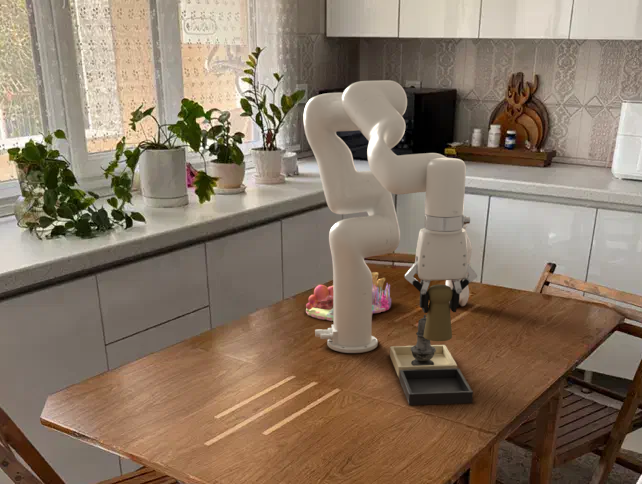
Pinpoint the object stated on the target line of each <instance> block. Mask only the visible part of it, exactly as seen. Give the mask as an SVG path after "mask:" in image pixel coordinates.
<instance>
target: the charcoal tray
mask: <svg viewBox="0 0 642 484" xmlns="http://www.w3.org/2000/svg"><path fill="white" fill-rule="evenodd" d="M398 378H399V379H398V380H399V383H400V386H401V389H402V391H403V393H404V395H405V398H406V401H407V403H408V406H419V405H420V406H421V405H423V406H424V405H451V404H452V405H453V404H455V405H456V404H472V403H473V399H474V391H473V390H472V387H471V386H470V384H469V383H468V381H467V380H466V378H465V376H464V375H463V372H462V371H461V369H460V368H459V367H457V368H448V369H415V370H400V374H399V377H398Z"/></svg>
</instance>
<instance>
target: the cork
mask: <svg viewBox="0 0 642 484" xmlns="http://www.w3.org/2000/svg"><path fill="white" fill-rule="evenodd" d="M427 293H428V295H429V304H428V312H427V313H426V323H425V329H424V334H423V337H424V338H425V339H427V340H430V342H446V341H447V342H448V341H450V340H452V338H453V330H452V317H451V309H450V303H449V302H450V301H451V299H452V296H453V292H452V289H451V288H450V287H449V286H447V285H445V284H433V285H431V286H429V287H428V289H427Z"/></svg>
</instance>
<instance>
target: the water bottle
mask: <svg viewBox="0 0 642 484" xmlns="http://www.w3.org/2000/svg"><path fill="white" fill-rule="evenodd" d="M467 227H468V224H464V226H463V229H465V232H466V240H467V262H468V264H469V265H470V266H471V267H472V265H471V264H472V263H471V260H472V250H473V246H472V242H471V239H470V237H469V235H468V232H467ZM467 275H468V273H467V274H466V276H467ZM461 280H462V279H459V281H461ZM444 285H447V286H449V287H450V288H451V289H452V288H453V285H452V281H451V280H445V284H444ZM469 297H470V289H469V284H468V285H467V286H466V287H465V288H464V289H463V290H462V292H461V293H460V297H459V306H460V307H464V306H466V305H467V304H468V301H469ZM449 303H450V302H449Z"/></svg>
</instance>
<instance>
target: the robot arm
mask: <svg viewBox="0 0 642 484" xmlns="http://www.w3.org/2000/svg"><path fill="white" fill-rule="evenodd" d="M407 97H408V96H407V93H406V91H405V89H404V88H403V86H402V85H400V83H398V82H397V81H394V80H390V79H389V80H388V79H385V80H382V79H379V80H360V81H356V82H352V83H351V84H349V85H348V86H347V87H346V88H345V89H344V90H343V92H327V93H322V94H321V93H320V94H318V95H315V96H313V97H311V98H310V99H309V100H308V101H307V102H306V104H305V107H304V110H303V129H304V134H305V137H306V140H307V142H308V145H309V147H310V149H311V151H312V153H313V155H314V157H315V160H316V164H317V169H318V172H319V177H320V181H321V186H322V190H323V193H324V199H325V201H326V205H327V207H328V209H329V210H330V211H331V212H332V213H333V214H336V215H348V214H357V213H367V215H366V216H357V217H347V218H343V219H341V220H338V221H336V222H335V223H334V224H333V225H332V226H331V227H330V230H329V232H328V243H329V249H330V254H331V259H332V260H331V261H332V277H333V278H332V282H333V283H332V285H333V308H334V321H333V324H331V327H327V329H314V337H315V338H320V340H327V341H326V344H327V347H328V348H329V349H331V350H332V351H336V352H338V353H344V354H361V353H367V352H370V351H373V350H375V349H376V348H377V347H378V343H379V341H378V338H377V337H375V336H374V335H372V333H373V331H372V330H373V327H372V326H373V325H372V324H373V314H372V271H371V269H370V268H369V266H368V265H367V263H366V261H365V258H371V257H376V256H377V257H378V256H382V255H388V254H392V253H393V252H395V251H396V250H397V249H398V247H399V245H400V242H401V230H400V229H401V228H400V225H399V220H398V215H397V212H396V206H395V203H394V198H393V195H408V194H416V193H425V203H424V227H423V228H420V229H419V232H418V237H417V243H416V251H415V257H414V259H415V261H414V263H413V264H412V265H411V266H410V268H409V269H408V270H407V271H406V272H405V274H404V275H403V277H404V279H405V280H406V281H407V282H409V284H411V285H412V286H413V287H414V288H415V289H416V290H417V291H418V292H419V308H420V309H422V311H423V313H424V314H427V312H428V307H429V295H428V293H427V291H428V289H429V287H430V284H431V282H432V281H446V280H451V281H452V285H453V288H452V292H453V296H452V299H451V301H450V311H451V312H452V313H456V312H457V308H459V306H460V304H459V297H460V293H461V292H462V290H463V289H464V288H465V287H466V286H467V285H468V286H469V284H470V283H472V282H473V281H474V280H475V279H477V277H478V273H477V272H476V271H475V270H474V268H473V267H472V265H471V264H470V265H471V266H470V265H469V264H468V262H467V240H466V232H467V231H466V232H465V229H463V226H464V224H466V225H470V223H471V217H470V216H466V215H464V207H465V191H466V175H467V174H466V173H467V166H466V163H465V161H463V160H462V159H461V158H453V157H447V156H445V155H443V154H441V153H437V152H426V153H425V152H424V153H411V154H401V155H400V154H399V155H397V154H396V153H395V152H394V151H393V150H392V149H393V148H394V147H395V146H397V145H398V144H399V143H400V141H401V140H402V138H403V137H404V135H405V133H406V132H405V131H406V120H405V119H404V117H403V116H404V114H405V113H406V110H407V106H408V98H407ZM353 131H359V132H360V133H361V134H362V135H363V137H365V138H366V140H367V141H368V144H367V149H366V150H367V151H366V155H367V162H368V167H369V169H370V170H362V171H361V170H360V171H358V169H357V168H356V166H355V162H354V157H353V153H352V151H351V148H349V146H348V145H347V144H346V142H345V141H344V140H343V139H342V138H341V137H340V136H339V135H337V132H353ZM467 273H468V275H467V276H466V274H467ZM415 275H417V277H418V279H420V281H419V280H418V279H416V278H415V277H414V276H415ZM459 279H462V280H461V281H459Z"/></svg>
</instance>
